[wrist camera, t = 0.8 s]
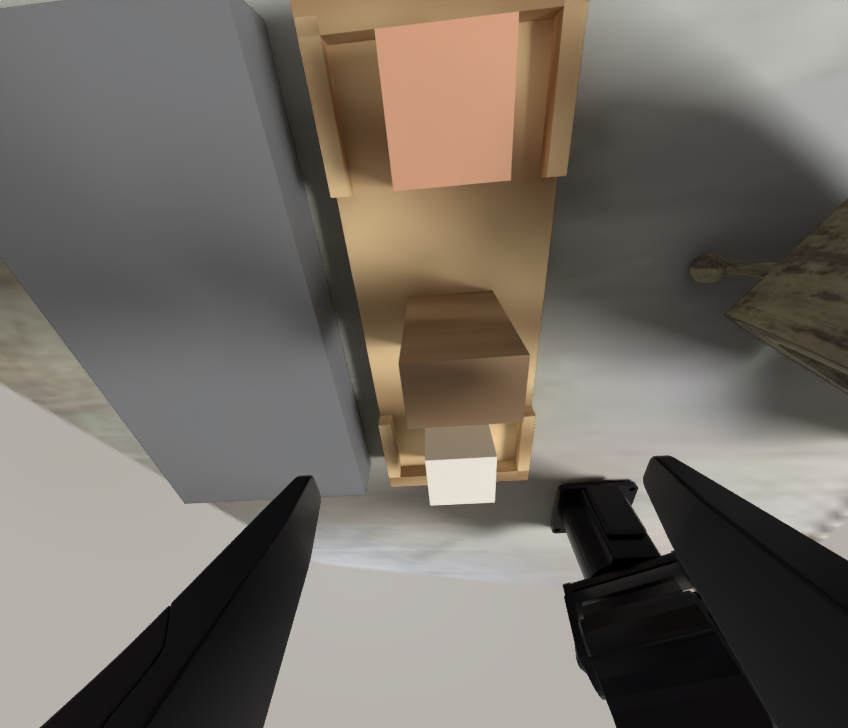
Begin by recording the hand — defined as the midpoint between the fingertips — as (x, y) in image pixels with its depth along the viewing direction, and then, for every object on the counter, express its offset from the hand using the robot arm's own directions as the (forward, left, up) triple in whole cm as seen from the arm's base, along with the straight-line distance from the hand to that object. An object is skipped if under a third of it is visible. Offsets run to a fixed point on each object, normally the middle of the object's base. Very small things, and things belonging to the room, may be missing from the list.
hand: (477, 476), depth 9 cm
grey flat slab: (0, +14, -12) cm, 19 cm away
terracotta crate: (+9, 0, -11) cm, 14 cm away
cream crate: (-9, 0, -11) cm, 14 cm away
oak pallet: (0, 0, -13) cm, 13 cm away
